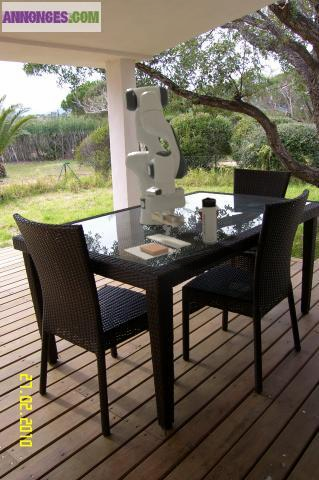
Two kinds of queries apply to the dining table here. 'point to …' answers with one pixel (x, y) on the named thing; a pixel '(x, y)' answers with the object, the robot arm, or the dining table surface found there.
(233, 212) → the dining table surface
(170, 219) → the beige rectangular bar
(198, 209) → the plastic cup
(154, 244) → the tile
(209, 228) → the travel mug
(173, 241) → the board
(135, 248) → the mat
